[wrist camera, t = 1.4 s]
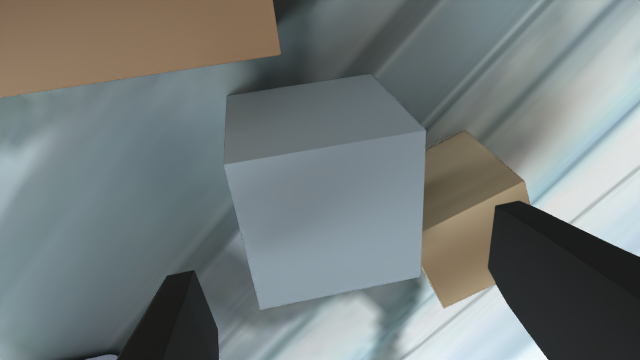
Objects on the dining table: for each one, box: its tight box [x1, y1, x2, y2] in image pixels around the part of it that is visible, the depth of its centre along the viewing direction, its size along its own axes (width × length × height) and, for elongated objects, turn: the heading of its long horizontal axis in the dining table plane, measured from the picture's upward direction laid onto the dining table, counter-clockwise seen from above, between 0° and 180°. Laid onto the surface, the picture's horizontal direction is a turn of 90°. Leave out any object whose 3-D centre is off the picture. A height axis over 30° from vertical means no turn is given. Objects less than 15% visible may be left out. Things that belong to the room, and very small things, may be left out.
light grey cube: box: [224, 74, 426, 310], centre depth 13 cm, size 5×5×5 cm
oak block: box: [421, 130, 530, 308], centre depth 16 cm, size 4×4×4 cm
